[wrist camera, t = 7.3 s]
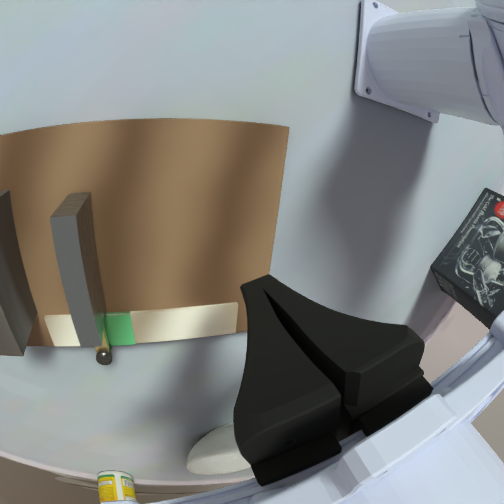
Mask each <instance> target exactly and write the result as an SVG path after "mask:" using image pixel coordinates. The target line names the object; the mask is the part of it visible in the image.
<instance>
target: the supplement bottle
mask: <svg viewBox="0 0 504 504" xmlns="http://www.w3.org/2000/svg"><path fill="white" fill-rule="evenodd" d="M98 487H99V496H100V504H101V502H105V501H118V500H132V501H135V502H137V501H136V495H135V489H134V483H133V478H132V477H131V476H130V475H129V474H127V473H124V472H120V471H103V472H100V473H99V474H98Z"/></svg>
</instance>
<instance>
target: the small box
mask: <svg viewBox="0 0 504 504" xmlns="http://www.w3.org/2000/svg"><path fill="white" fill-rule="evenodd" d="M431 269H432V271H433V273H434V275H435V277H436V279H437V282H438V284H439V286H440V288H441V290H442V291H443V292H445V293H447V294H448V295H449V296H451V297H452V298H453V299H455V300H456V301H457V302H458V303H459V304H461V305H462V306H463V307H464V308H465V309H466V310H468V311H469V312H470V313H471V314H472V315H473V316H475V317H476V318H477V319H478V320H479V321H481V322H482V323H483V324H484V325H485V326H486V327H487V328H488V329H489V330H490V328H491V326H492V324H493V322H494V320H495V319H496V318H497V317H498V315H499V314H500V313H501V312H502V311H503V310H504V196H502V195H500V194H498V193H496V192H494V191H492V190H490V189H488V188H485V189H484V191H483V192H482V194H481V196H480V197H479V199H478V200H477V202H476V203H475V205H474V206H473V208H472V210H471V211H470V213H469V214H468V216H467V217H466V219H465V220H464V222H463V223H462V225H461V226H460V227H459V229H458V230H457V232H456V233H455V234H454V236H453V237H452V239H451V240H450V241H449V243H448V244H447V245H446V247H445V248H444V249H443V251H442V252H441V253H440V255H439V256H438V257H437V258H436V260H435V261H434V262H433V264H432V265H431Z"/></svg>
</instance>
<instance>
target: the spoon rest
mask: <svg viewBox="0 0 504 504" xmlns="http://www.w3.org/2000/svg"><path fill="white" fill-rule="evenodd" d="M186 468H187V470H188V471H190V472H192V473H195V474H200V475H215V474H225V473H232V472H236V471H240V470H244V469H248V468H251V465H250V464H249V463H248V462H247V461H246V460H245V459H244V458H243V457H242V455H241V454H240V451H239V449H238V446H237V444H236V441H235V436H234V423H231V424H226V425H223V426H220V427H218V428H216V429H214V430H212V431H210V432H209V433H208V434H207V435H206V436H205V437H203V438H202V439H201V440H199V441H198V442H197V443H196V444H195V446H194V447H193V448H192V450H191V451H190V453H189V455H188V458H187V462H186Z"/></svg>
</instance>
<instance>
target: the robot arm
mask: <svg viewBox="0 0 504 504" xmlns="http://www.w3.org/2000/svg"><path fill="white" fill-rule="evenodd" d="M475 3H476V6H477V7H455V8H440V9H430V10H421V11H413V12H406V13H398V12H396V11H394V10H393V9H391V8H389V7H387V6H385V5H383V4H382V3H380V2H378V1H376V0H362V1H361V18H360V33H359V46H358V57H357V67H356V77H355V86H354V90H355V93H356V94H357V95H359V96H362V97H365V98H368V99H371V100H374V101H377V102H380V103H383V104H386V105H389V106H392V107H395V108H397V109H400V110H403V111H405V112H408V113H411V114H413V115H416V116H418V117H421V118H423V119H425V120H428V121H430V122H433V123H437V122H438V120H439V114H440V113H443V114H448V115H453V116H457V117H462V118H466V119H470V120H474V121H478V122H482V123H485V124H489V125H500V126H501V128H502V130H503V134H504V0H475ZM373 5H374V7H375V8H374V7H373ZM366 88H367V89H368V93H366ZM240 290H241V293H242V296H243V299H244V302H245V305H246V313H247V353H246V361H245V368H244V373H243V378H242V382H241V387H240V391H239V394H238V397H237V400H236V404H235V407H234V436H235V441H236V444H237V446H238V449H239V451H240V454H241V455H242V457H243V458H244V459H245V460H246V461H247V462H248V463H249V464H250V465H251V468H252V470H253V473H254V475H255V478H252V479H249V480H246V481H243V482H240V483H237V484H234V485H230V486H227V487H223V488H220V489H216V490H212V491H208V492H204V493H200V494H196V495H192V496H187V497H182V498H177V499H172V500H166V501H161V502H154V503H147V504H504V463H503V462H502V461H501V460H500V458H499V457H498V456H497V454H496V453H495V452H494V451H493V450H492V448H491V447H490V446H489V445H488V443H487V442H486V441H485V440H484V439H483V437H482V436H481V435H480V434H479V433H478V431H477V430H476V429H475V428H474V427H473V425H472V424H471V422H472V421H473V420H474V419H475V418H476V417H477V416H478V415H479V414H480V413H481V412H482V411H483V410H484V409H485V408H486V407H487V406H488V405H489V404H490V403H491V401H492V400H493V399H494V398H495V397H496V396H497V395H498V394H499V392H500V391H501V390H502V389H503V388H504V310H503V311H502V312H501V313H500V314H499V315H498V317H497V318H496V319H495V320H494V322H493V324H492V326H491V328H490V332H489V333H488V334H487V335H486V336H485V337H484V338H483V339H482V340H481V341H480V342H479V343H478V344H476V345H475V346H474V347H473V348H472V349H471V350H470V351H469V352H468V353H467V354H466V355H465V356H463V357H462V358H461V359H460V360H459V361H458V362H456V363H455V364H454V365H453V366H452V367H451V368H449V369H448V370H447V371H446V372H445V373H443V374H442V375H441V376H440V377H438V378H437V379H436V380H434V381H433V382H432V383H431V384H429V383H428V382H427V380H426V379H425V378H424V377H423V375H424V372H423V370H422V369H421V368H420V367H419V364H420V361H421V358H422V355H423V352H424V347H425V344H424V341H423V340H422V339H421V338H420V337H419V336H418V335H417V334H416V333H415V332H414V331H413V330H411V329H410V328H409V327H408V326H407V325H399V324H388V323H380V322H375V321H369V320H365V319H360V318H357V317H353V316H349V315H346V314H343V313H340V312H337V311H334V310H332V309H329V308H327V307H325V306H322V305H320V304H318V303H316V302H314V301H312V300H310V299H308V298H306V297H304V296H303V295H301V294H299V293H297V292H296V291H294V290H292V289H291V288H289V287H287V286H286V285H284V284H283V283H281V282H280V281H278V280H277V279H275V278H274V277H273V276H271V275H269V274H267V275H265V276H262V277H260V278H257V279H254V280H252V281H249V282H247V283H244V284H242V285H241V286H240ZM294 484H295V485H294ZM292 485H293V486H292ZM101 504H139V503H137V502H135V501H132V500H118V501H105V502H101Z"/></svg>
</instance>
